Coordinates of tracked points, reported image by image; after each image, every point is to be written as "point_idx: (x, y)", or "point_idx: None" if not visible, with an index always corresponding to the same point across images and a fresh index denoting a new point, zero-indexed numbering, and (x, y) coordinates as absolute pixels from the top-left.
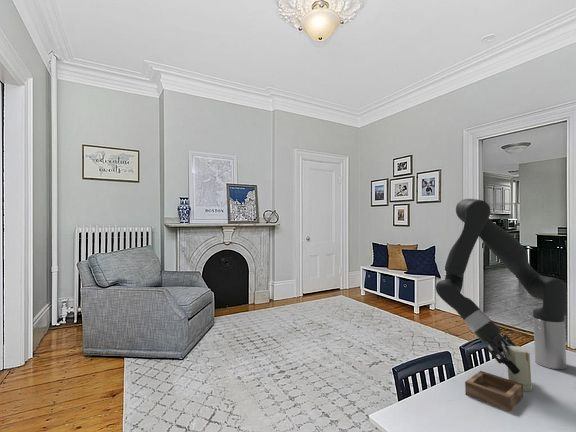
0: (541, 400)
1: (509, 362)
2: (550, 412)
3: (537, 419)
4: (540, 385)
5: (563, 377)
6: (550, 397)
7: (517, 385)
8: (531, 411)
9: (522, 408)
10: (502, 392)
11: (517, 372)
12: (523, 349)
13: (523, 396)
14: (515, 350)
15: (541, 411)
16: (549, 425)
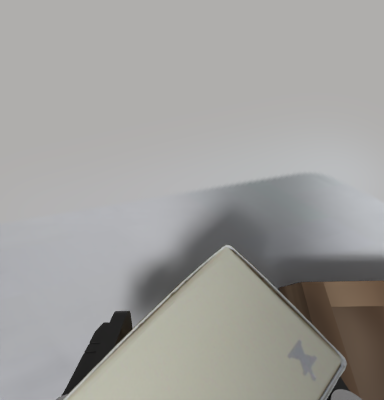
0: (247, 243)
1: (335, 386)
2: (296, 210)
3: (366, 221)
4: (131, 276)
5: (6, 241)
6: (203, 231)
7: (337, 294)
8: (343, 243)
9: (354, 265)
10: (347, 355)
11: None
12: (158, 322)
13: (280, 287)
14: (292, 384)
15: (314, 226)
16: (361, 197)
